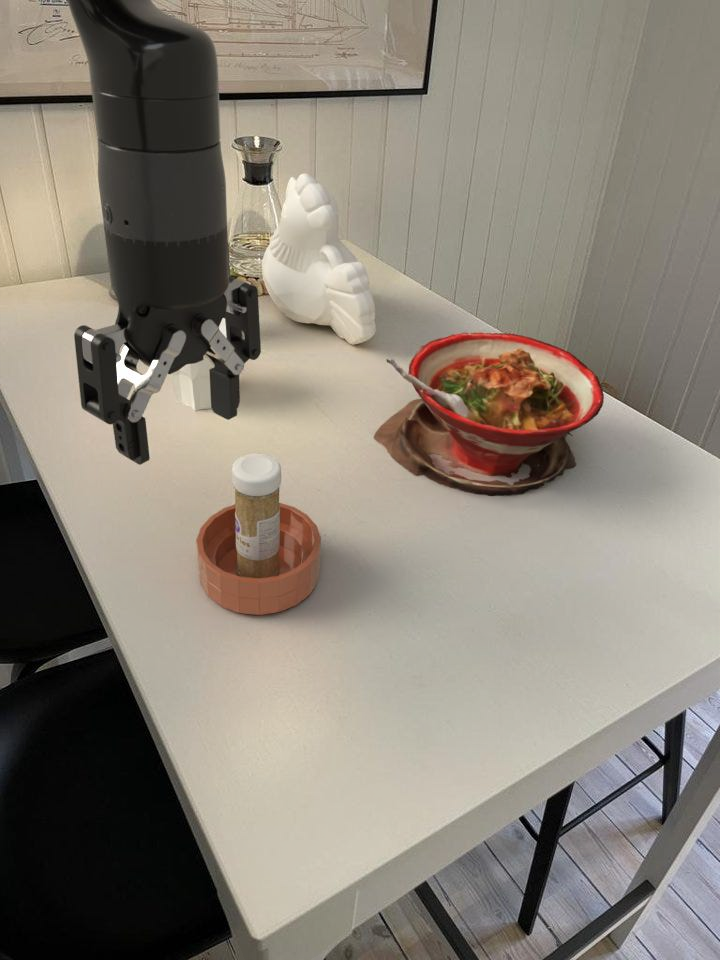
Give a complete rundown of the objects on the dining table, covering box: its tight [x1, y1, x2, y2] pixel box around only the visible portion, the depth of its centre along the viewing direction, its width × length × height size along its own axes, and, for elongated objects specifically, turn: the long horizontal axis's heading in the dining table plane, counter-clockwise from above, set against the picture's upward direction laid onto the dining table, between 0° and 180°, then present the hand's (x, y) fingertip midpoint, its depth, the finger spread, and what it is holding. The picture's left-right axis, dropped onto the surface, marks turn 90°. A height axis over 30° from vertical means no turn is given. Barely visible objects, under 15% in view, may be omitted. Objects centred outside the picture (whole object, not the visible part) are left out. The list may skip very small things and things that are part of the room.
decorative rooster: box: [261, 172, 377, 346], centre depth 118 cm, size 25×16×25 cm
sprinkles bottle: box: [231, 453, 282, 578], centre depth 74 cm, size 5×5×13 cm
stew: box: [373, 332, 605, 497], centre depth 94 cm, size 28×24×16 cm
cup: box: [170, 318, 227, 412], centre depth 103 cm, size 10×10×10 cm
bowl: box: [196, 502, 322, 616], centre depth 77 cm, size 12×12×5 cm
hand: (182, 435), depth 56 cm, fingers open, 8 cm apart
